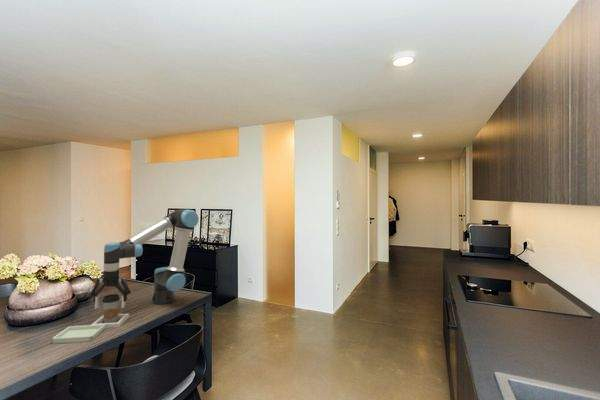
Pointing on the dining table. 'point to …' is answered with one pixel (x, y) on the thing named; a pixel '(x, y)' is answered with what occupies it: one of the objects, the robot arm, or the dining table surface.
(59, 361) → the dining table surface
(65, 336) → the tray
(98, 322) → the frame
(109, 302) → the coffee cup
